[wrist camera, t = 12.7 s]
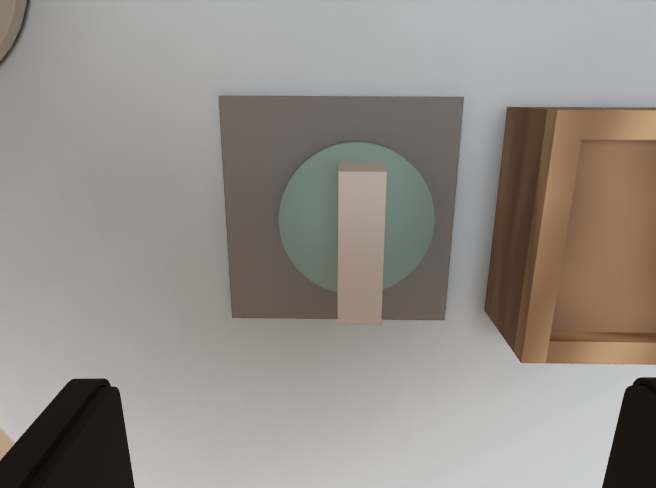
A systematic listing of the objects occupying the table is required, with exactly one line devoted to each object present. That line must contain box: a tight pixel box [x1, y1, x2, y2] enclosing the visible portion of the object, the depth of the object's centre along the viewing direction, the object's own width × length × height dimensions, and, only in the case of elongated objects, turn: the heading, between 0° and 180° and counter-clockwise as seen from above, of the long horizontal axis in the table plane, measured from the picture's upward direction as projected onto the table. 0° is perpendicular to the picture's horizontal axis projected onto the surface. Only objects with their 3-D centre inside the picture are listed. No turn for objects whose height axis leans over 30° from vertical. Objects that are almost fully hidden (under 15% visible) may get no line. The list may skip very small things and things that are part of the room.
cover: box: [279, 141, 435, 324], centre depth 24 cm, size 8×8×7 cm
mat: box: [219, 96, 464, 320], centre depth 27 cm, size 13×13×1 cm
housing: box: [485, 107, 656, 365], centre depth 24 cm, size 14×12×6 cm
